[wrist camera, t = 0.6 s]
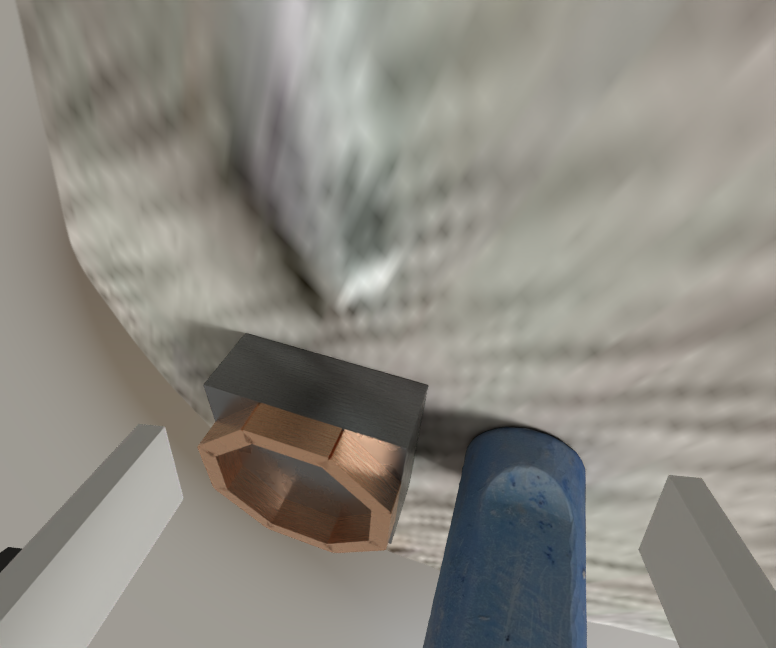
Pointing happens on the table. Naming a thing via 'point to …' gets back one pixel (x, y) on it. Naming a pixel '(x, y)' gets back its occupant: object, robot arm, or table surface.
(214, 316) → the table surface
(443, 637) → the bottle
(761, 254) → the table surface
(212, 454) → the copper and grey block
